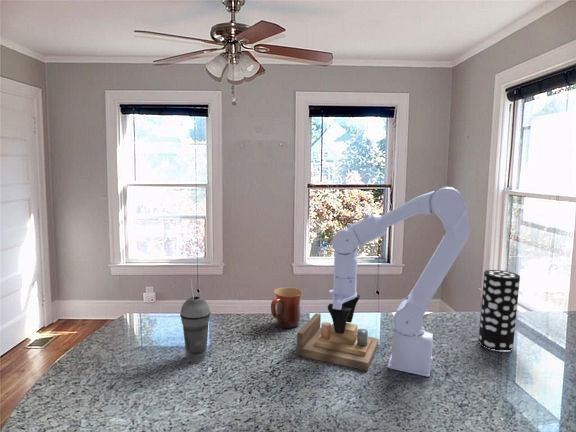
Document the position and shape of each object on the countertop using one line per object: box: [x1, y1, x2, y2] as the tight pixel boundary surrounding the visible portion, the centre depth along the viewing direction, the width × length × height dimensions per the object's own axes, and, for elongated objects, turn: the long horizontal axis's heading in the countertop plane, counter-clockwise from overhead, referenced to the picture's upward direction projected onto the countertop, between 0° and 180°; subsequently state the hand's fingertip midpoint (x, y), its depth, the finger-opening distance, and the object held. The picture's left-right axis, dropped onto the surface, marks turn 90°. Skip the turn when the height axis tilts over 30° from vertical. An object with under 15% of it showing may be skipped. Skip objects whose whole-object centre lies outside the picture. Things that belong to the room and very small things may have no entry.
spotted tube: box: [477, 269, 521, 350], centre depth 103 cm, size 8×8×20 cm
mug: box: [270, 286, 304, 329], centre depth 114 cm, size 12×9×10 cm
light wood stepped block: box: [296, 313, 380, 372], centre depth 99 cm, size 18×14×6 cm
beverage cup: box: [179, 278, 212, 364], centre depth 93 cm, size 7×7×20 cm
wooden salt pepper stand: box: [315, 321, 372, 356], centre depth 99 cm, size 13×8×5 cm, turn 67°
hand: (343, 327), depth 98 cm, fingers open, 7 cm apart
